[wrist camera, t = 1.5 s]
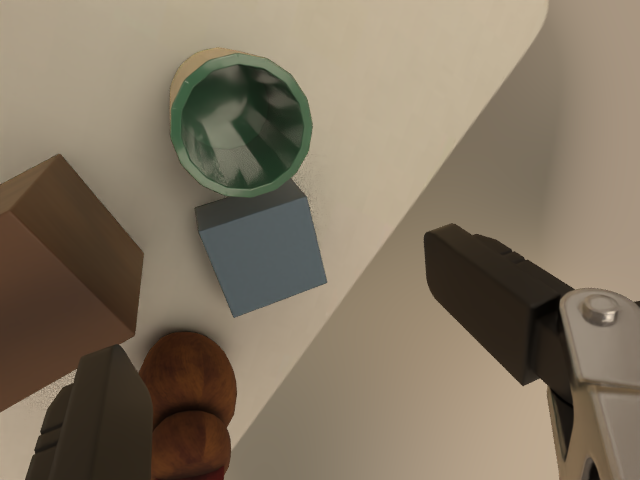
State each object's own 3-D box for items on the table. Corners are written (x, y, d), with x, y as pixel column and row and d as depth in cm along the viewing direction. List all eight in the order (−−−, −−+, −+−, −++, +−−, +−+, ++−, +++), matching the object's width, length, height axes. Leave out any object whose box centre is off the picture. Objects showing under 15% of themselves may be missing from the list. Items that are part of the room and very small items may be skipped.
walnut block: (-68, 220, 23) (-184, 311, 15) (60, 153, 24) (9, 209, 16) (38, 312, 27) (-12, 420, 20) (144, 253, 28) (135, 335, 20)
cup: (152, 62, 23) (145, 75, 16) (257, 36, 24) (294, 38, 17) (191, 165, 26) (200, 214, 19) (282, 138, 27) (323, 174, 20)
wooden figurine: (126, 370, 31) (99, 597, 19) (155, 311, 30) (146, 513, 17) (209, 384, 35) (232, 585, 22) (238, 331, 33) (281, 514, 21)
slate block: (194, 207, 28) (198, 232, 24) (290, 177, 29) (307, 196, 26) (226, 287, 31) (233, 318, 28) (310, 257, 32) (327, 283, 29)
